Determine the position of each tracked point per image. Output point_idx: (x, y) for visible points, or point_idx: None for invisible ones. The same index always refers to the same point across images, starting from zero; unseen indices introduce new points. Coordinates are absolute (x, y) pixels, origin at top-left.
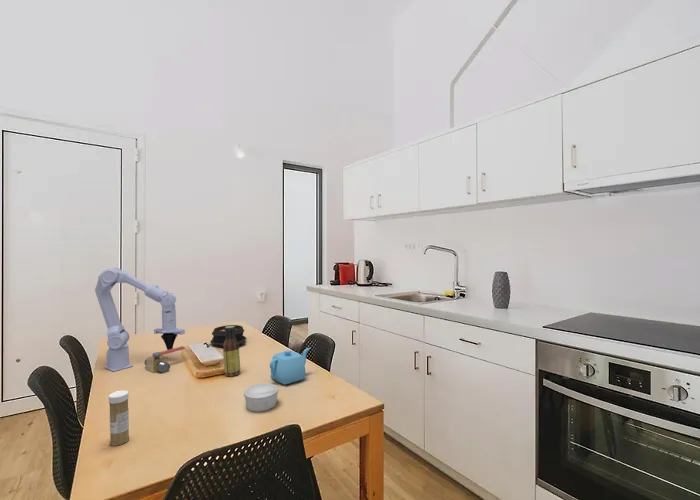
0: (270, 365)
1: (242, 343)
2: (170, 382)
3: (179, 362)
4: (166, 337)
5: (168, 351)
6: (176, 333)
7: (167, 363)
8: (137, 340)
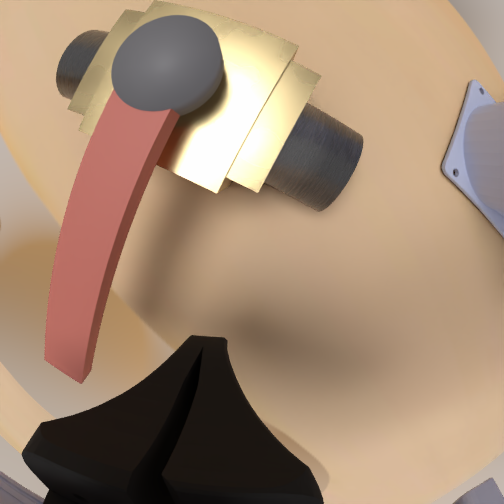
0: None
1: None
2: (31, 8)
3: (136, 283)
4: (128, 452)
5: (73, 190)
6: (12, 488)
7: (59, 72)
8: (491, 445)
